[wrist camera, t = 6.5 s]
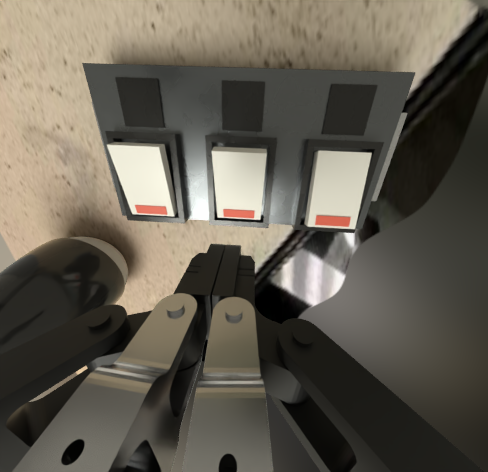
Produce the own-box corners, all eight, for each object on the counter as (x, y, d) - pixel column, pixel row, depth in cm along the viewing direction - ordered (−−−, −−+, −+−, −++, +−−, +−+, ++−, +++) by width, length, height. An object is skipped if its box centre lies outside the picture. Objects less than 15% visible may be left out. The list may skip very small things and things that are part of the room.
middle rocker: (214, 146, 15) (211, 151, 14) (266, 148, 15) (266, 154, 14) (219, 211, 19) (217, 218, 18) (260, 213, 19) (260, 220, 18)
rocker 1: (114, 141, 15) (105, 145, 14) (164, 144, 15) (158, 147, 14) (137, 208, 19) (131, 214, 18) (177, 211, 19) (174, 216, 18)
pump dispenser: (120, 218, 24) (-60, 324, 10) (151, 284, 28) (54, 417, 15) (49, 228, 25) (-197, 333, 11) (89, 289, 29) (-53, 417, 16)
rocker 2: (314, 152, 16) (319, 150, 15) (364, 154, 16) (372, 152, 14) (304, 223, 17) (307, 226, 16) (349, 226, 17) (355, 229, 16)
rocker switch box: (87, 76, 17) (36, 56, 13) (414, 86, 16) (466, 68, 12) (121, 203, 23) (91, 218, 19) (368, 217, 22) (393, 235, 18)
